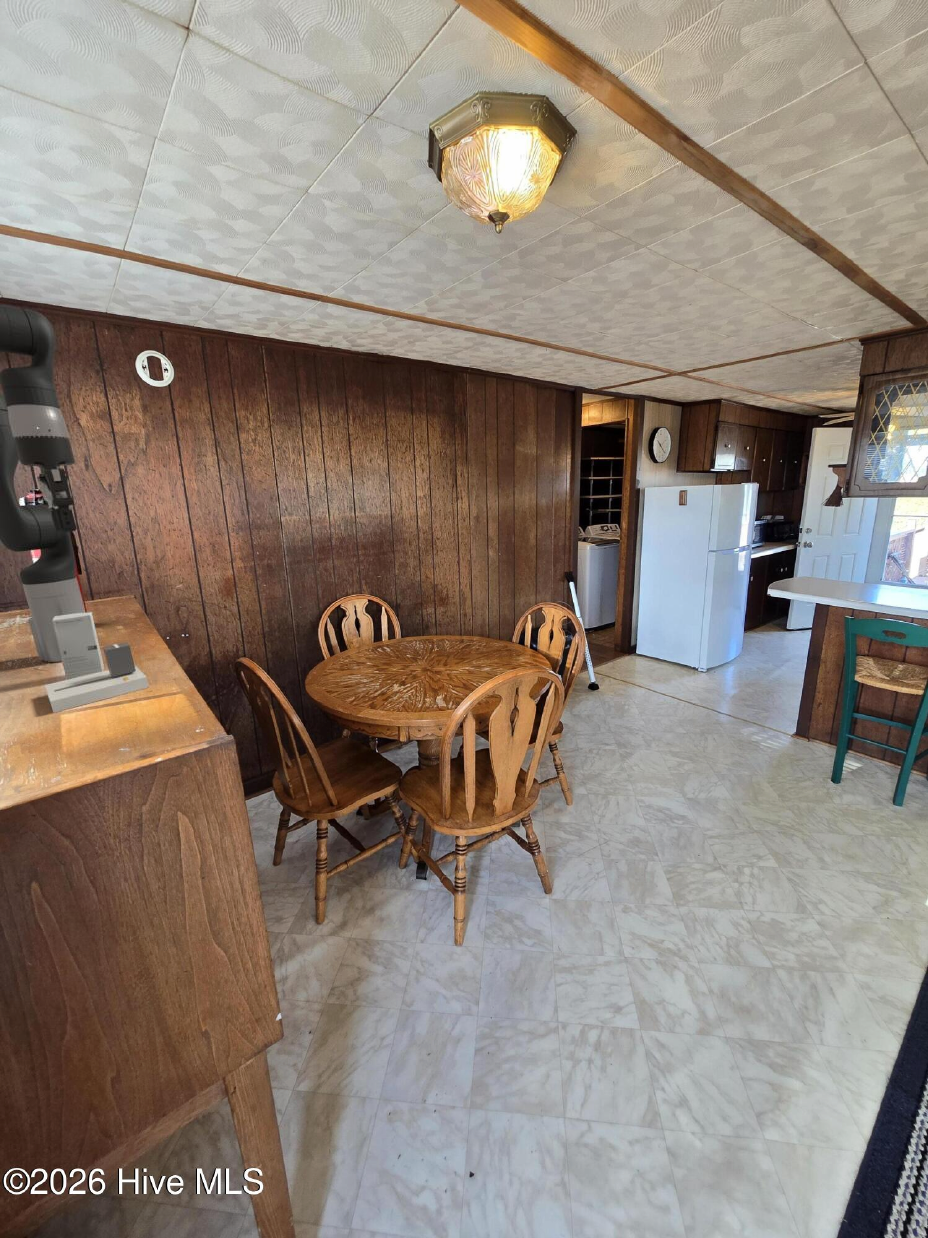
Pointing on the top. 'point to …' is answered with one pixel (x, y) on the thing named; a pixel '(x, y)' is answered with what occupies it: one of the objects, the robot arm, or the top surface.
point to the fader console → (93, 688)
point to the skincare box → (78, 644)
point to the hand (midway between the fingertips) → (66, 531)
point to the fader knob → (119, 659)
